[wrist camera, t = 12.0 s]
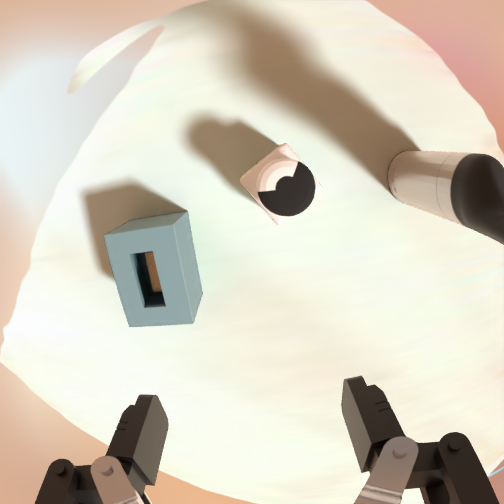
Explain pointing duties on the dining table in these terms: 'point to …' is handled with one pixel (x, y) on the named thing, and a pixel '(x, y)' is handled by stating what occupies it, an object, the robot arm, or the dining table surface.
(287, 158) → the container
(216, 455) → the dining table surface
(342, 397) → the robot arm
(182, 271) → the coin box
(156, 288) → the block
